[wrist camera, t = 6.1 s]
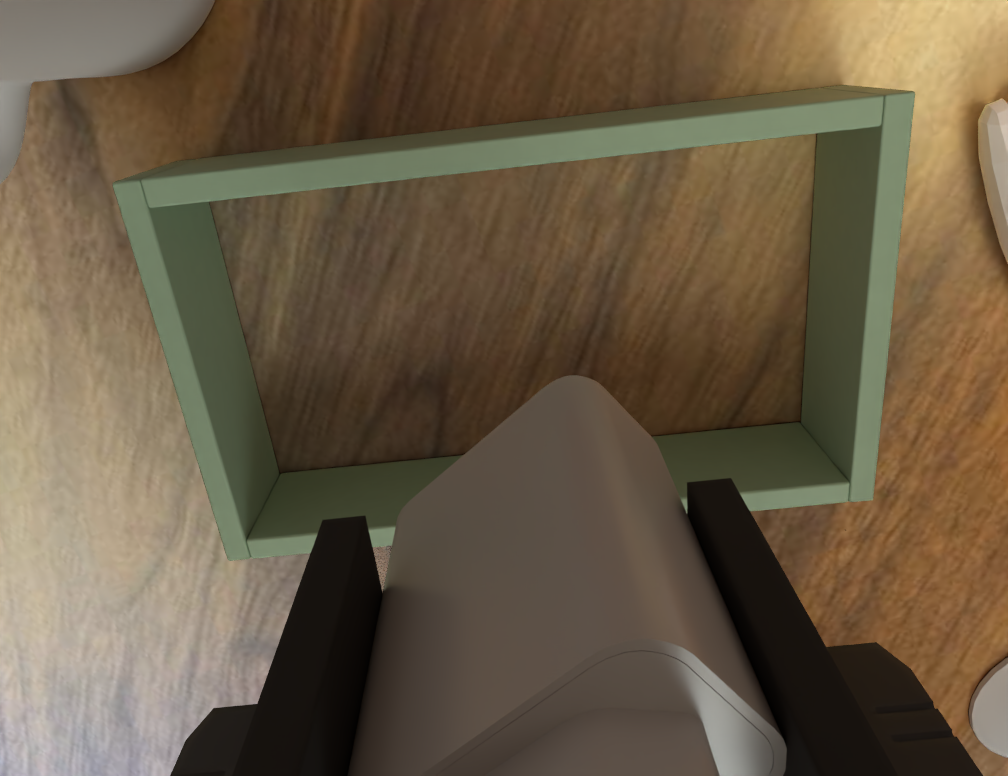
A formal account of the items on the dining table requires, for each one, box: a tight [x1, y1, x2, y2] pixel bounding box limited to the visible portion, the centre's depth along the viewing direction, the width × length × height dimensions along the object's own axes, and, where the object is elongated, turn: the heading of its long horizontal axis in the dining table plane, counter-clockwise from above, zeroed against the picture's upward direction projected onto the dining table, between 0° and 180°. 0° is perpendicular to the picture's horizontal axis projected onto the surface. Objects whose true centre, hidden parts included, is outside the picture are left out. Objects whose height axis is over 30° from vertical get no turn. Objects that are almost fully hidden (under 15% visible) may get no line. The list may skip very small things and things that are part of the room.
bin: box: [113, 85, 915, 561], centre depth 25 cm, size 13×22×4 cm, turn 96°
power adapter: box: [347, 375, 787, 776], centre depth 10 cm, size 3×5×12 cm, turn 133°
